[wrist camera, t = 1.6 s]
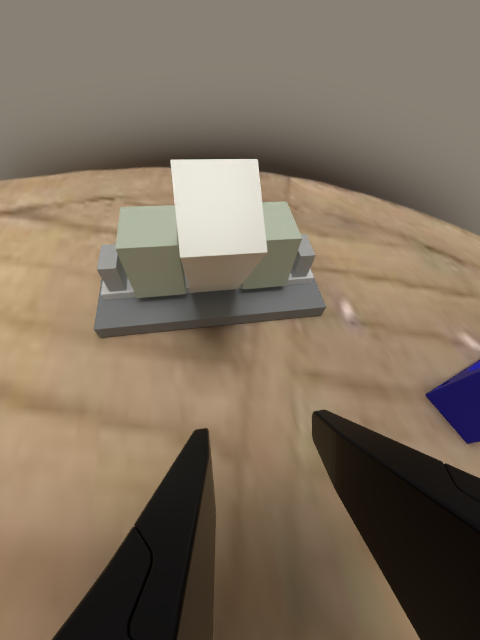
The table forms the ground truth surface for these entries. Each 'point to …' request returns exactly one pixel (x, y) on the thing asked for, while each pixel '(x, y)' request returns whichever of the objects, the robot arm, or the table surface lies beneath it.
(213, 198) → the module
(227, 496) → the table surface
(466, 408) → the blue cradle stand
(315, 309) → the rail board
